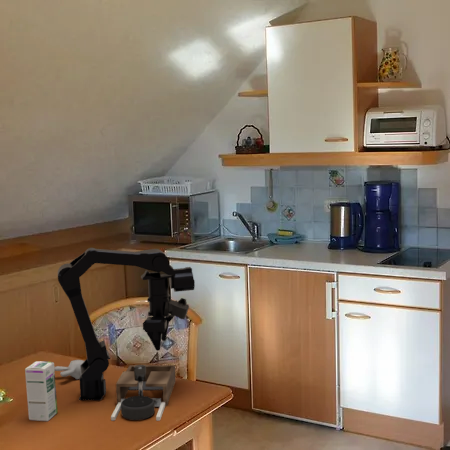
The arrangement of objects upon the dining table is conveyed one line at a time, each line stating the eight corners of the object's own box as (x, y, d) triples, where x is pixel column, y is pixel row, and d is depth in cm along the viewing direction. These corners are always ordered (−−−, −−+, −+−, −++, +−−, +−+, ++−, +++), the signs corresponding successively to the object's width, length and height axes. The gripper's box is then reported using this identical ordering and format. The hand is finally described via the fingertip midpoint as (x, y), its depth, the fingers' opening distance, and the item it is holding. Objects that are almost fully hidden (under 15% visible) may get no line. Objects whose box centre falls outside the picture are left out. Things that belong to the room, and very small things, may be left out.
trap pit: (128, 390, 202) (128, 389, 202) (132, 382, 208) (132, 381, 208) (169, 390, 201) (168, 389, 201) (171, 382, 208) (171, 381, 208)
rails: (111, 420, 181) (110, 416, 181) (118, 405, 191) (118, 402, 190) (160, 420, 180) (159, 416, 180) (165, 405, 190) (165, 402, 190)
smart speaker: (133, 406, 190) (132, 392, 190) (160, 411, 186) (160, 397, 186) (114, 418, 182) (114, 404, 182) (143, 424, 178) (142, 409, 178)
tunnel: (117, 405, 191) (116, 383, 190) (129, 381, 209) (129, 361, 209) (167, 405, 190) (166, 383, 189) (175, 381, 209) (174, 361, 208)
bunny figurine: (109, 363, 214) (63, 367, 206) (108, 379, 215) (62, 384, 206) (96, 355, 222) (52, 359, 213) (95, 371, 222) (51, 375, 214)
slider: (120, 408, 188) (118, 368, 186) (122, 403, 191) (121, 364, 190) (160, 408, 187) (159, 368, 186) (162, 403, 191) (160, 364, 189)
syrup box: (48, 421, 181) (45, 368, 179) (27, 420, 182) (24, 367, 180) (57, 413, 186) (55, 361, 184) (37, 411, 188) (34, 360, 186)
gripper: (181, 300, 189) (183, 355, 191) (190, 285, 207) (193, 335, 209) (141, 301, 190) (144, 355, 192) (154, 286, 208) (157, 335, 210)
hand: (161, 345), depth 201 cm, fingers open, 9 cm apart
